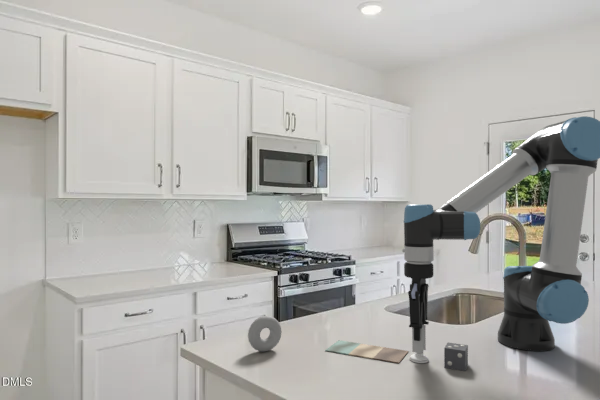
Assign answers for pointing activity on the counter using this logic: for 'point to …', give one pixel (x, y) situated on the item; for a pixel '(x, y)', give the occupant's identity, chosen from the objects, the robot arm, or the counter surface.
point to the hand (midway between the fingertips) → (419, 350)
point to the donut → (257, 327)
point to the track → (368, 351)
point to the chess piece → (419, 358)
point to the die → (456, 356)
